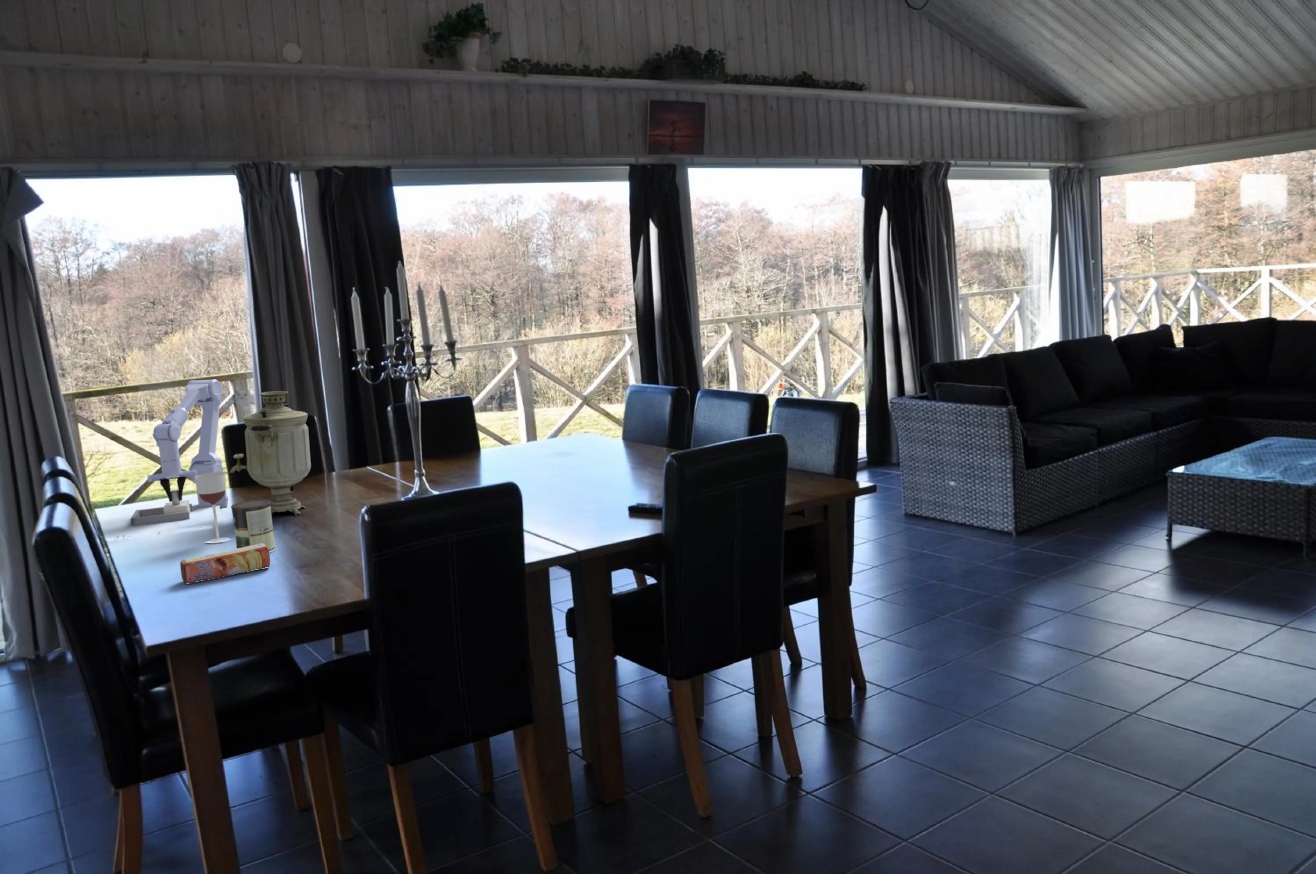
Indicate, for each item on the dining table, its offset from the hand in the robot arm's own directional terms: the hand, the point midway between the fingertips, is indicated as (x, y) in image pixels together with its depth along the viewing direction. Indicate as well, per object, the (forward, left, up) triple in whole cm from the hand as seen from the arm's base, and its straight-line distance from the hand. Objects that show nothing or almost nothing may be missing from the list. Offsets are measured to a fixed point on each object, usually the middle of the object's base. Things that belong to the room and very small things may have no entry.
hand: (175, 500), depth 340 cm
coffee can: (-25, +61, -7) cm, 66 cm away
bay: (+5, 0, -6) cm, 8 cm away
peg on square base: (0, 0, -5) cm, 5 cm away
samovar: (-31, +9, -7) cm, 33 cm away
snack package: (-18, +82, -7) cm, 85 cm away
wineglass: (-14, +40, -7) cm, 43 cm away
